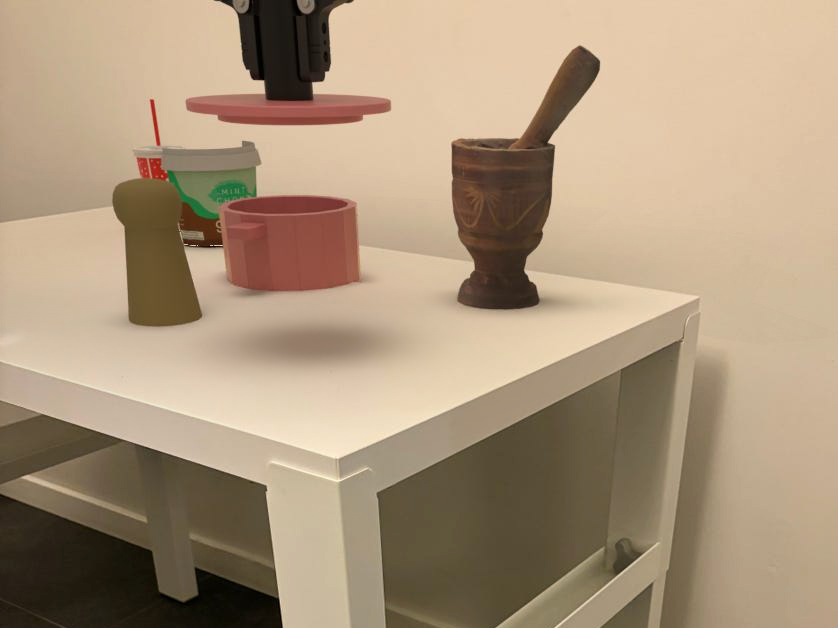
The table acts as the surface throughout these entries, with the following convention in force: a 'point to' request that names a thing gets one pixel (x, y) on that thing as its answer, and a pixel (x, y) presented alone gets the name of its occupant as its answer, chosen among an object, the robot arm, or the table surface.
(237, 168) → the food container
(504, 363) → the table surface
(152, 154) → the beverage cup
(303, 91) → the lid
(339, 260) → the pot
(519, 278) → the mortar and pestle
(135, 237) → the cork
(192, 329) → the table surface
